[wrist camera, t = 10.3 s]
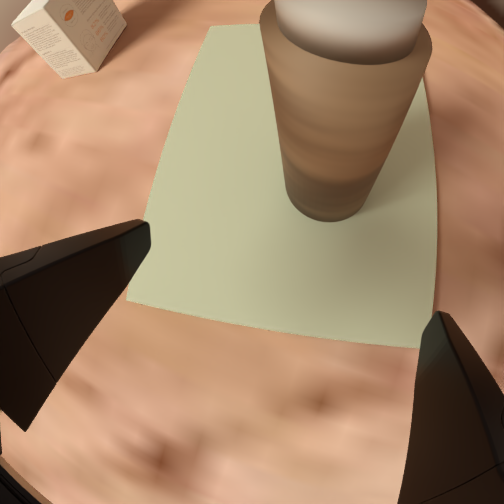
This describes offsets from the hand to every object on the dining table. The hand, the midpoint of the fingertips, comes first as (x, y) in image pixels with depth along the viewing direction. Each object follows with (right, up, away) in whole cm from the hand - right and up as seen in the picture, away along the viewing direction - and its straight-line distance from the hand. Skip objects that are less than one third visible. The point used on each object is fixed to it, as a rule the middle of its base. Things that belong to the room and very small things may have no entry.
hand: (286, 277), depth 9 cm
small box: (-18, +23, +17) cm, 34 cm away
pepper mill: (+3, +5, +9) cm, 11 cm away
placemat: (+2, +8, +11) cm, 13 cm away
